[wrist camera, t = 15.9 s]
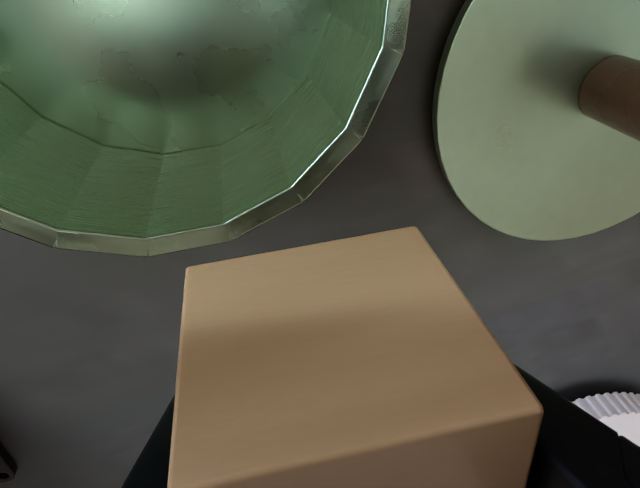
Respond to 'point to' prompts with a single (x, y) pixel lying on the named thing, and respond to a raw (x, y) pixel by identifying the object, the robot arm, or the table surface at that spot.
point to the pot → (181, 113)
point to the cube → (344, 374)
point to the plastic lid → (615, 412)
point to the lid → (542, 114)
